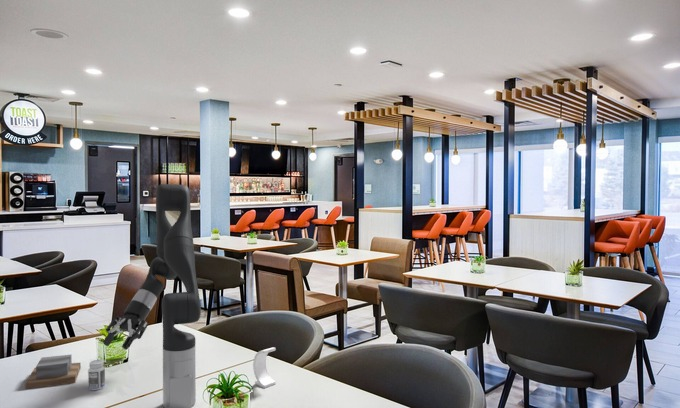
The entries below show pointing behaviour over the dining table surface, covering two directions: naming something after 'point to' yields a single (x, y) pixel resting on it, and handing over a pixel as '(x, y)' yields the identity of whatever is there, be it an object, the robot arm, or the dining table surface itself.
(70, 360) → the pedestal
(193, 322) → the robot arm
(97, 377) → the pill bottle
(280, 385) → the dining table surface
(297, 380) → the dining table surface
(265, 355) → the headphone stand
